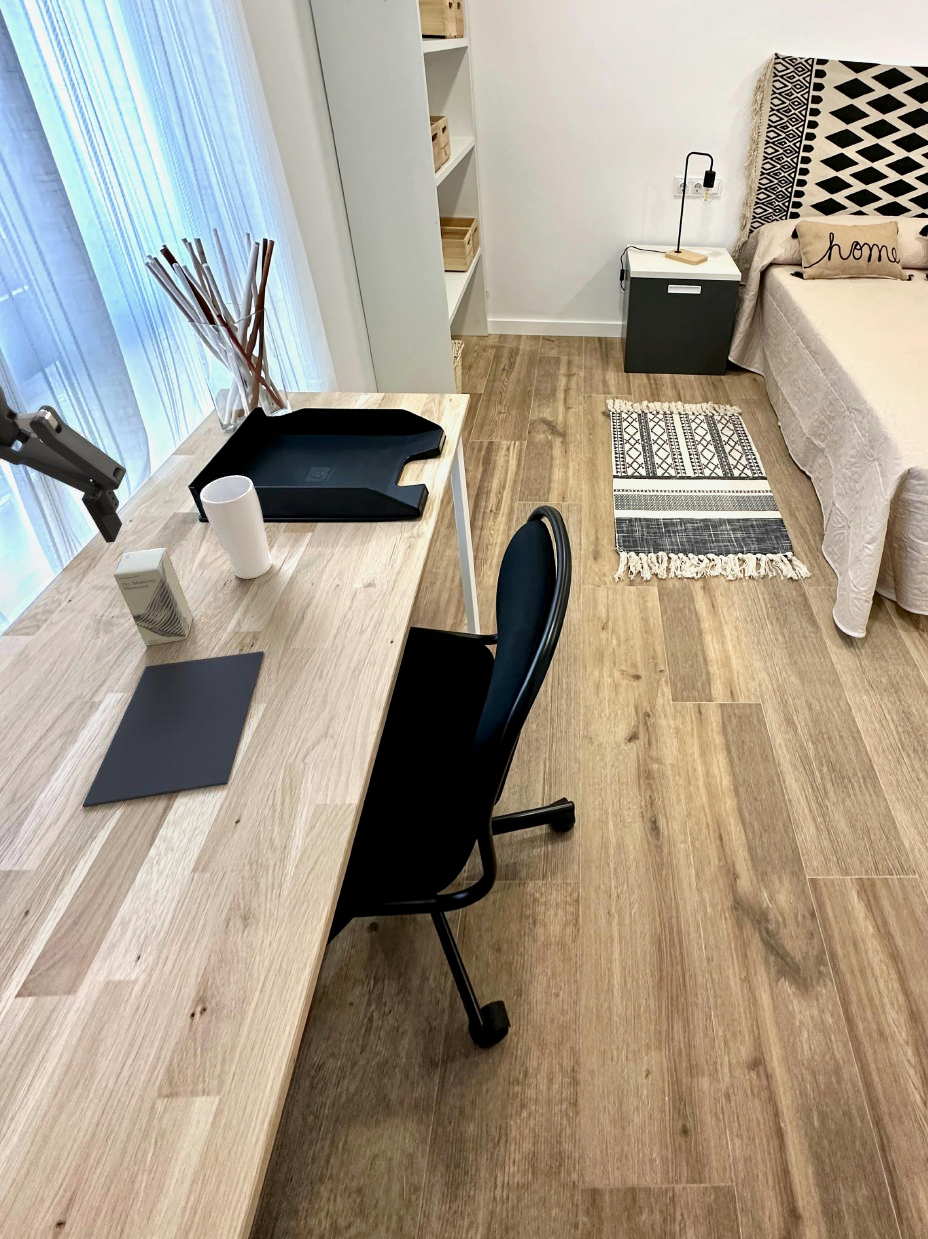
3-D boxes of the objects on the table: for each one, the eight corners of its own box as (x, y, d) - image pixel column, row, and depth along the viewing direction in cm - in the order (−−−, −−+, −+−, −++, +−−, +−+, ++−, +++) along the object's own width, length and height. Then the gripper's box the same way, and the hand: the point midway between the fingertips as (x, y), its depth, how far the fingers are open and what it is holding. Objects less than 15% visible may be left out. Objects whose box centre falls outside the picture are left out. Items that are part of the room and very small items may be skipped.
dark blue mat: (83, 807, 69) (82, 805, 69) (147, 668, 84) (145, 666, 84) (227, 784, 72) (226, 782, 71) (264, 652, 86) (263, 651, 86)
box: (145, 647, 87) (108, 576, 80) (153, 622, 90) (119, 552, 83) (189, 639, 88) (157, 568, 81) (196, 615, 91) (166, 545, 84)
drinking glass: (255, 589, 96) (227, 508, 88) (218, 577, 98) (187, 497, 89) (288, 559, 101) (264, 480, 93) (252, 548, 103) (226, 470, 95)
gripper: (-289, 409, 51) (-122, 583, 64) (80, 389, 56) (163, 553, 70) (-221, 357, 56) (-80, 527, 70) (109, 344, 62) (181, 503, 75)
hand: (42, 540), depth 70 cm, fingers open, 13 cm apart
